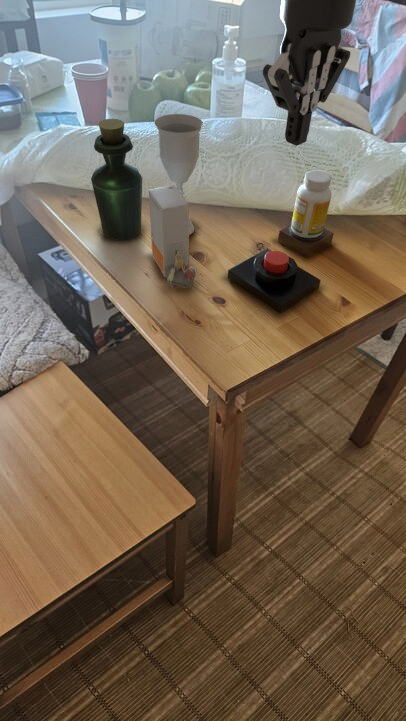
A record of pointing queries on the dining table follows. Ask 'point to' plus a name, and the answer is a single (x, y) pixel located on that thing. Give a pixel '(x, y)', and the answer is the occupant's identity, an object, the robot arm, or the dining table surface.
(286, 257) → the button
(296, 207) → the supplement bottle
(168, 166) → the chalice
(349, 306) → the dining table surface
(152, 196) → the cosmetic box
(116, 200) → the potion bottle
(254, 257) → the button housing
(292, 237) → the stand
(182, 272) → the figurine
